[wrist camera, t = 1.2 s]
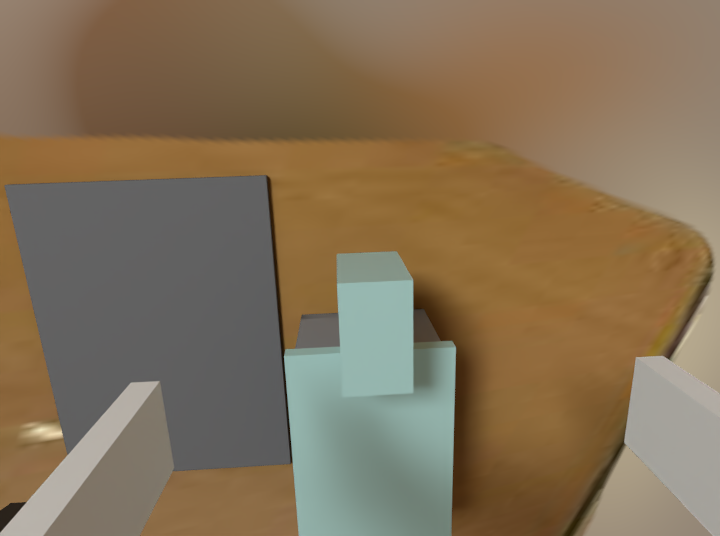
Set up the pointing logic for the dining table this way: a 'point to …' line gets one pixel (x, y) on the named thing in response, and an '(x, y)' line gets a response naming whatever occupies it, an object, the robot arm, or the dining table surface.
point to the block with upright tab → (373, 413)
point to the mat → (161, 308)
